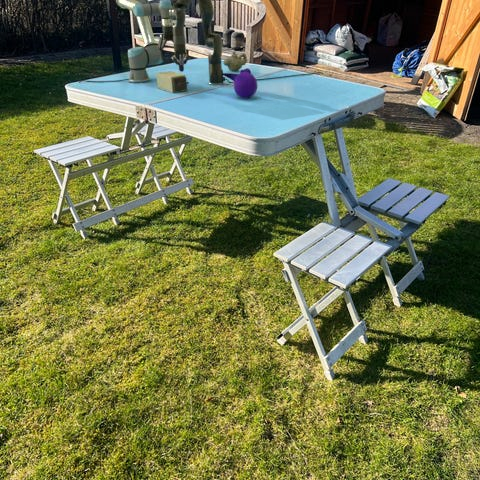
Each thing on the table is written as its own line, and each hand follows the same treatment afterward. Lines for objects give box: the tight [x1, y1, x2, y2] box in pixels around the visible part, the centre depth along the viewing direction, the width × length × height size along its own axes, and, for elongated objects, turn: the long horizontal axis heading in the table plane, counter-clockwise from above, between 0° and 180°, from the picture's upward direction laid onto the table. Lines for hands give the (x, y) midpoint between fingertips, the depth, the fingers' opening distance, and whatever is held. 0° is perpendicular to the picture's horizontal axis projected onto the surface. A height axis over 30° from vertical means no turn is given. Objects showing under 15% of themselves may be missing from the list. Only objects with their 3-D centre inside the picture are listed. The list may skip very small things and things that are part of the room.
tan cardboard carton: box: [156, 70, 186, 93], centre depth 310 cm, size 20×11×10 cm, turn 38°
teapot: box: [222, 51, 248, 73], centre depth 364 cm, size 21×12×15 cm, turn 120°
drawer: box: [172, 76, 190, 93], centre depth 307 cm, size 24×10×8 cm, turn 38°
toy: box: [222, 67, 258, 99], centre depth 286 cm, size 16×18×27 cm
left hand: (170, 59), depth 316 cm, fingers open, 13 cm apart
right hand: (181, 71), depth 296 cm, fingers closed
